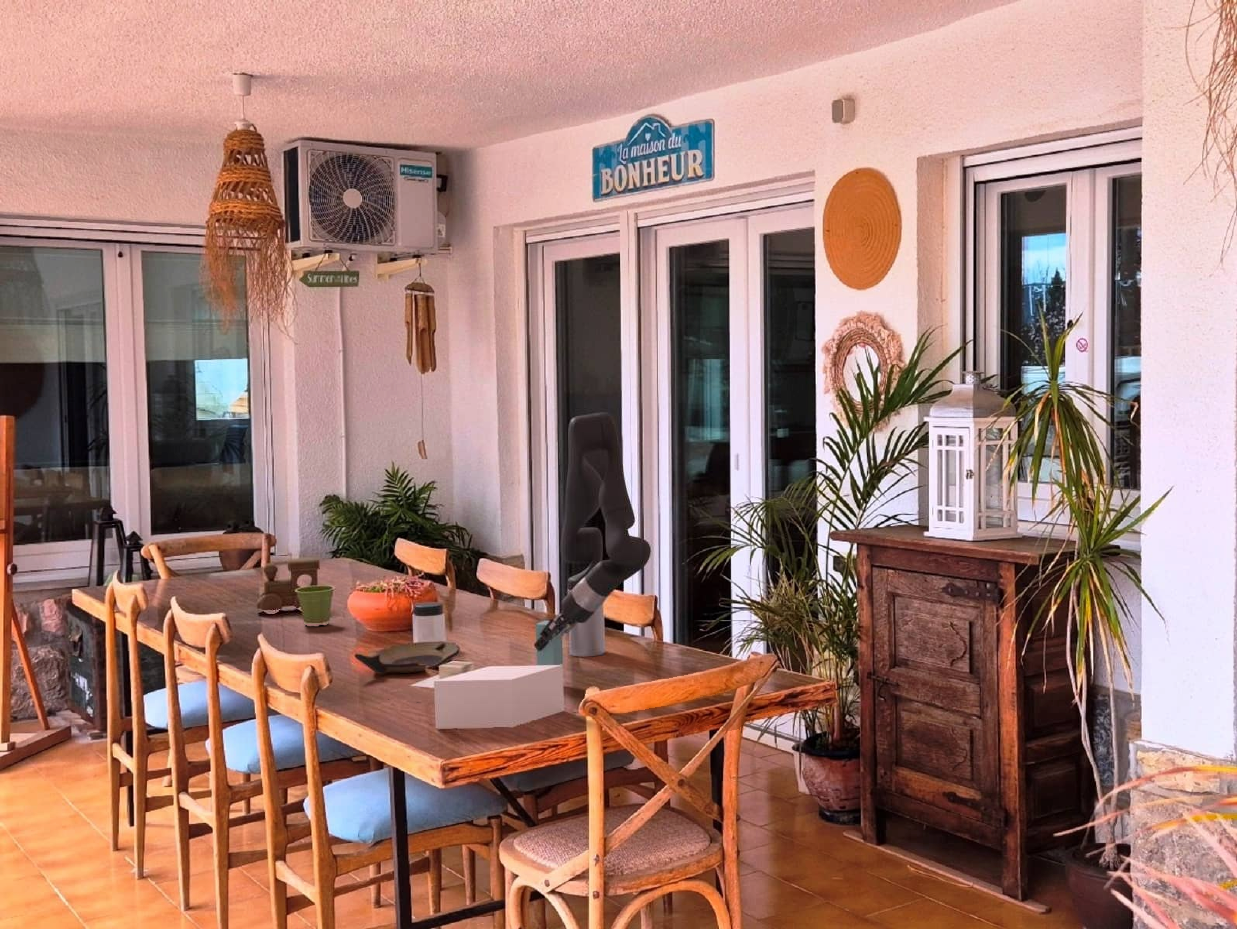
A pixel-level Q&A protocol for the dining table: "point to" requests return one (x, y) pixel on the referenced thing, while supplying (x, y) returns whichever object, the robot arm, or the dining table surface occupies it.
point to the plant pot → (315, 603)
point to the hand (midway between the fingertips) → (542, 645)
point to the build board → (427, 682)
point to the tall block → (549, 648)
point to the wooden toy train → (286, 584)
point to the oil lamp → (410, 657)
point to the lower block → (455, 668)
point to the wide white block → (498, 696)
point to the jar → (428, 622)
